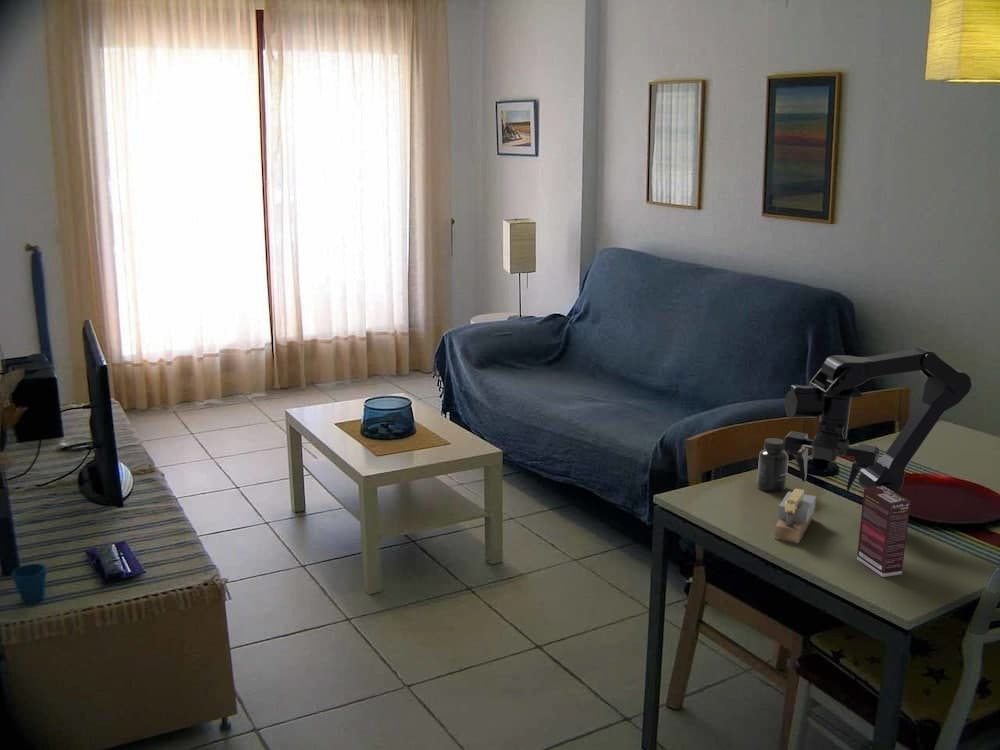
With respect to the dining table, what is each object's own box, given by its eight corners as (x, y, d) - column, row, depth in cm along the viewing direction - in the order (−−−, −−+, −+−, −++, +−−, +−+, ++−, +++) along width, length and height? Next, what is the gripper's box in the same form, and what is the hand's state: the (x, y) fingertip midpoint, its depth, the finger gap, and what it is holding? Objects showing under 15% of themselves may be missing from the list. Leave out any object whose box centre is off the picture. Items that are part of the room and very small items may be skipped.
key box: (812, 519, 216) (814, 493, 214) (798, 543, 204) (801, 516, 202) (789, 514, 218) (791, 489, 216) (774, 538, 206) (776, 511, 205)
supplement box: (903, 574, 190) (912, 500, 186) (882, 578, 189) (891, 503, 185) (875, 555, 198) (883, 484, 194) (855, 558, 197) (862, 487, 193)
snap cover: (814, 508, 214) (815, 496, 213) (806, 524, 206) (807, 511, 205) (787, 503, 217) (788, 491, 216) (777, 518, 209) (778, 505, 208)
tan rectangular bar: (804, 498, 211) (805, 490, 210) (795, 514, 203) (795, 505, 203) (793, 496, 212) (793, 488, 211) (783, 511, 204) (784, 503, 204)
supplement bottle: (786, 494, 229) (790, 447, 226) (757, 492, 231) (760, 445, 227) (784, 483, 236) (788, 437, 233) (755, 481, 237) (759, 435, 234)
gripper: (780, 418, 199) (772, 488, 203) (874, 435, 190) (864, 508, 195) (793, 405, 209) (785, 472, 213) (883, 420, 200) (874, 490, 204)
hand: (825, 485), depth 206 cm, fingers open, 9 cm apart
